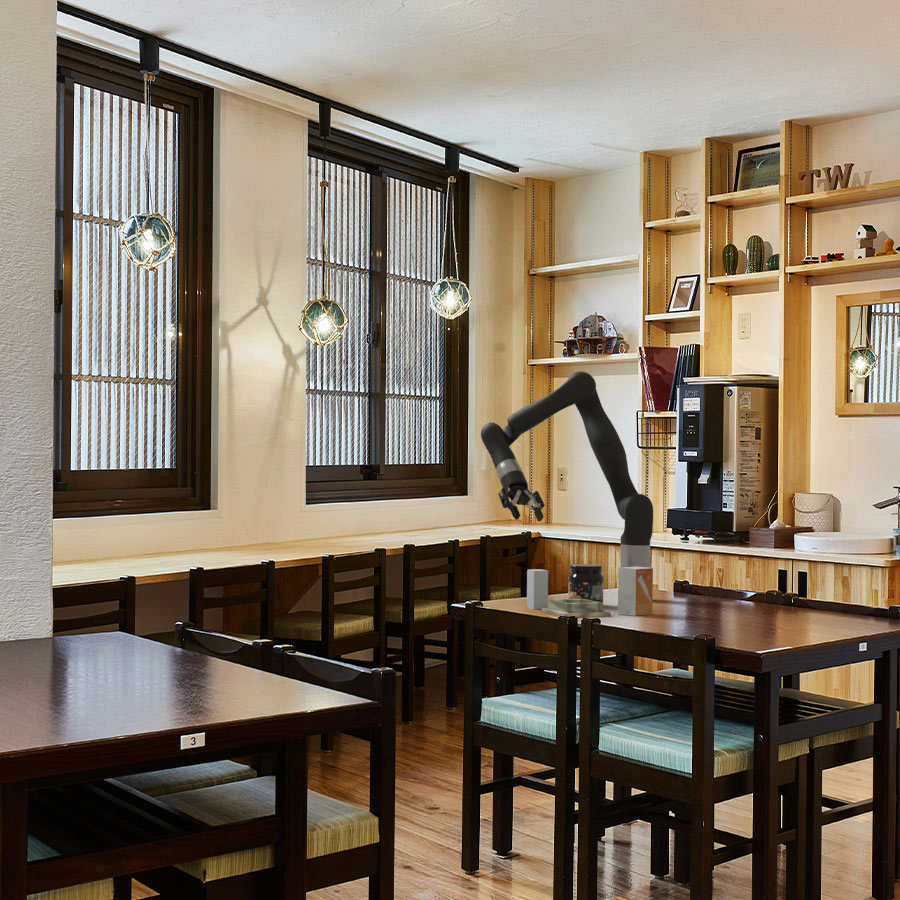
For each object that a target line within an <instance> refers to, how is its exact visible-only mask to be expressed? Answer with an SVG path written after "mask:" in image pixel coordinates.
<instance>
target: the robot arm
mask: <svg viewBox="0 0 900 900" xmlns="http://www.w3.org/2000/svg"><path fill="white" fill-rule="evenodd" d="M573 405H575V407H576V409H577V411H578V413H579V414H580V417H581V420H582V422H583V425H584V429H585V432H586V435H587V438H588V442H589V444H590V447H591V449H592V452H593V454H594V456H595V458H596V461H597V462H598V464H599V467H600V469H601V472H602V473H603V476H604V477H605V480H606V481H607V484H608V485H609V488H610V492H611V493H612V497H613V500H614V504H615V506H616V510H617V512H618V515H619V516H620V518H621V519H622V520H624V529H623V532H622V534H621V536H620V557H619V559H620V563H619V564H620V565H619V566H620V567H619V568H623V567H647V568H651V540H652V537H653V532H654V505H653V502H652V501H651V499H650V498H649V497H648V496H647V495H645V494H642V493H639V492H638V490H637V489H636V487H635V485H634V483H633V481H632V479H631V475H630V472H629V465H628V459H627V458H628V457H627V452H626V450H625V447H624V444H623V442H622V440H621V438H620V435H619V434H618V433H619V432H617V430H616V428H615V427H614V424H613V422H612V421H611V419H610V417H609V416H608V415H607V413H606V412H605V409H604V407H603V405H602V402H601V400H600V397H599V394H598V391H597V383H596V380H595V378H594V377H593V375H591V374H590V373H588V372H586V371H575V372H573V373H571V375H569V377H568V378H567V380H566V381H565V382H564V383H563V384H561V385H560V386H559V387H558V388H556V389H555V390H554V391H552V392H550V393H549V394H547V395H545V396H544V397H541V398H539V399H537V400H535V401H533V402H531V403H529V404H527V405H525V406H523V407H522V408H520V409H518V410H517V411H515V412H514V413H512V414H510V415H509V416H508V417H507V420H506V421H507V424H506V426H504V427H503V428H502V427H501V426H500V424H497V423H496V422H487V423H486V424H484V425H483V427H481V430H480V438H481V441H482V444H484V447H485V448H486V450H487V452H488V453H489V456H490V458H491V460H492V463H493V465H494V468H495V471H496V474H497V477H498V479H499V483H500V485H501V487H502V488H501V489H500V490H499V492H498V497H499V500H500V503H501V506H502V508H504V509H506V508H507V509H508V510H509V511H510V512H511V516H512V517H513V518H514V520H517V521H518V520H519V519H520V518H521V513H520V511H519V508H518V506H520V505H521V506H526V508H528V509H530V510H532V511H533V513H534V515H535V518H536V520H537V522H541V521H542V520H544V517H545V516H544V514H543V511H542V510H543V509H544V507H545V506H546V504H545V503H544V501H543V498H542V497H541V495H540V493H539V491H538V490H536V491H534V492H531V491H530V490H529V484H528V481H527V479H526V476H525V474H524V472H523V470H522V467H521V465H520V463H518V460H517V458H516V456H515V453H514V451H513V450H512V448H511V447H510V446H511V445H512V444H513V443H514V442H515V441H516V440H518V439H519V437H520V436H522V435H524V433H526V432H528V431H530V430H531V429H533V428H535V427H536V426H538V425H540V424H541V423H543V422H544V421H546V420H547V419H549V418H551V417H552V416H554V415H555V414H557V413H558V412H560V411H562V410H564V409H566V408H569V407H571V406H573Z"/></svg>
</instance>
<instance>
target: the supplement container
mask: <svg viewBox="0 0 900 900" xmlns="http://www.w3.org/2000/svg"><path fill="white" fill-rule="evenodd" d="M569 572H570V574H568V576H567V579H568V583H567V584H568V588H567V589H568V596H567V597H568V599H587V600H592V601H597V602H601V603H603V604H604V580H605V578H604V575H603V574H602V572H603V566H602V565H601V564H594V563H593V564H592V563H590V564H589V563H588V564H587V563H576V564H575V563H574V564H570V565H569Z"/></svg>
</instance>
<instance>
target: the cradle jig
mask: <svg viewBox="0 0 900 900" xmlns="http://www.w3.org/2000/svg"><path fill="white" fill-rule="evenodd" d="M541 612H542V613H544V614H548V615H553V616H556V617H560V616H575V618H595V617H598V618H599V617H611V616H612V615H611V612H610V611H605V610H604V602H603V603H601V602H597V601H592V600H587V599H567V598H564V599H548V608H542V609H541Z"/></svg>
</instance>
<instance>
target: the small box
mask: <svg viewBox="0 0 900 900" xmlns="http://www.w3.org/2000/svg"><path fill="white" fill-rule="evenodd" d="M617 575H618V576H617V577H618V579H617V586H618V587H617V614H618V615H622V616H634V617H636V616H645V615H647V616H648V615H652V614H653V598H654V596H653V595H654V594H653V591H654V589H653V586H654V568H653V567H650V568H647V567H623V568H620V567H618V573H617Z"/></svg>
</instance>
